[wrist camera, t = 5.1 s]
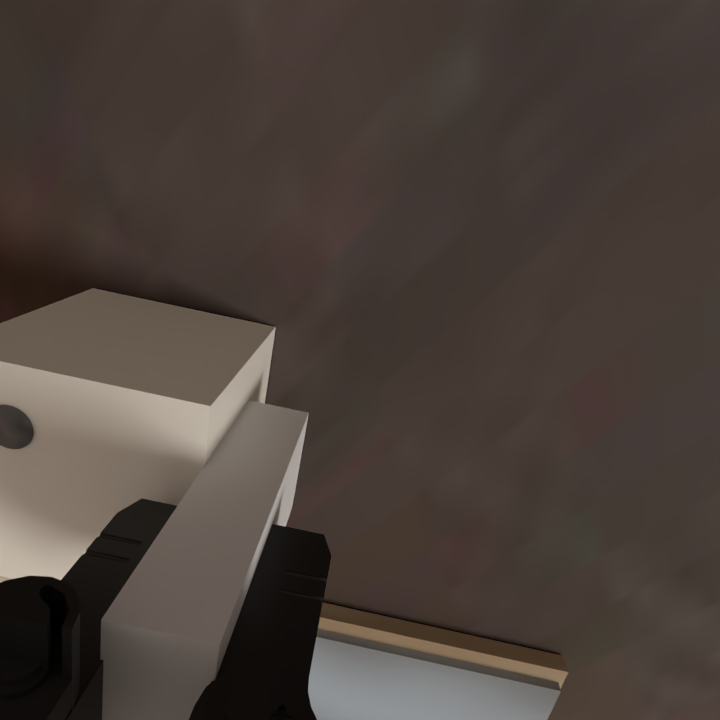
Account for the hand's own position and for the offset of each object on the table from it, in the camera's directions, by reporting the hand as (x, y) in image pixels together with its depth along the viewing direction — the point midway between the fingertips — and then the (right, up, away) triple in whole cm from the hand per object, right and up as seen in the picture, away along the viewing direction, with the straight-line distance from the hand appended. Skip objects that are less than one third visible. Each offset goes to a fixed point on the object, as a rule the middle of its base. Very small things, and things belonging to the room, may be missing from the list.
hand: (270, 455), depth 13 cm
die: (-3, +2, +2) cm, 4 cm away
